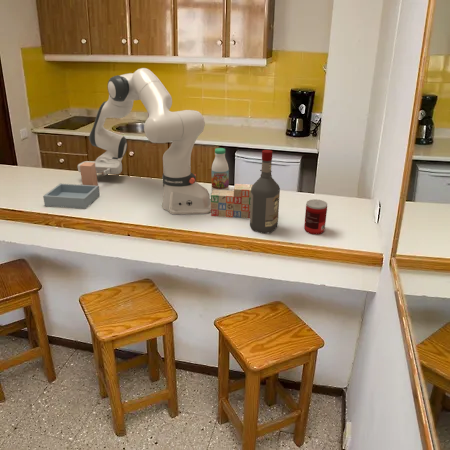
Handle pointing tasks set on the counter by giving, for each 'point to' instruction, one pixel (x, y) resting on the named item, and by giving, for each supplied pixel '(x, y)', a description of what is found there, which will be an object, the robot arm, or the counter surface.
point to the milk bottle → (220, 171)
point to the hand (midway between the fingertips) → (93, 173)
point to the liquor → (265, 198)
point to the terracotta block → (88, 174)
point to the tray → (71, 196)
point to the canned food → (315, 216)
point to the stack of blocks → (232, 202)
